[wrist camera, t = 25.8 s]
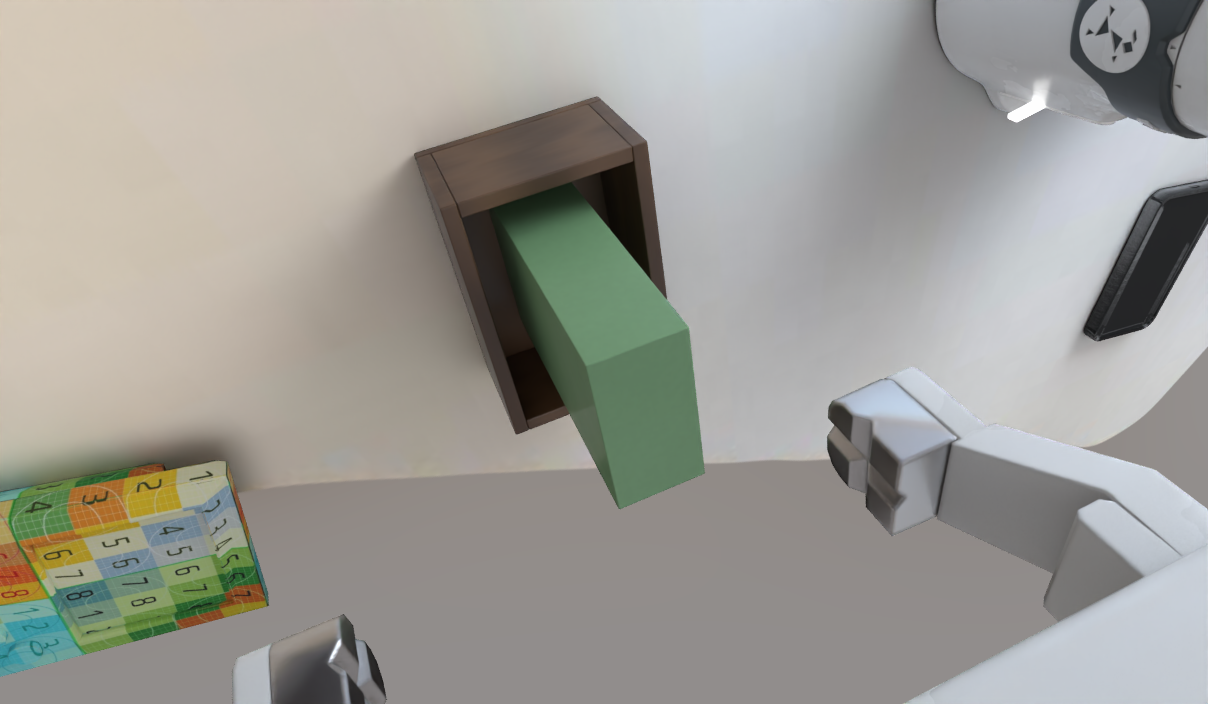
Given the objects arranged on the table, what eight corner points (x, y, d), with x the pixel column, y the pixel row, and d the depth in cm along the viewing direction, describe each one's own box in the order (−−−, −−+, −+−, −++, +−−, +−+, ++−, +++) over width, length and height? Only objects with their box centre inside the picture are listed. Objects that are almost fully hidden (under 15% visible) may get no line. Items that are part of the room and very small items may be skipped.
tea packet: (689, 326, 30) (705, 475, 36) (559, 166, 42) (587, 298, 48) (585, 366, 29) (619, 511, 35) (483, 192, 41) (521, 322, 47)
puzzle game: (-259, 585, 34) (227, 486, 41) (-215, 509, 38) (227, 430, 44) (-130, 721, 41) (269, 618, 48) (-102, 646, 45) (266, 560, 51)
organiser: (597, 95, 41) (647, 141, 36) (633, 313, 51) (676, 372, 46) (413, 153, 39) (439, 209, 34) (487, 368, 49) (516, 435, 44)
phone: (1090, 343, 71) (1164, 196, 62) (1080, 336, 72) (1152, 190, 63) (1150, 327, 74) (1231, 183, 65) (1140, 320, 75) (1218, 177, 65)
